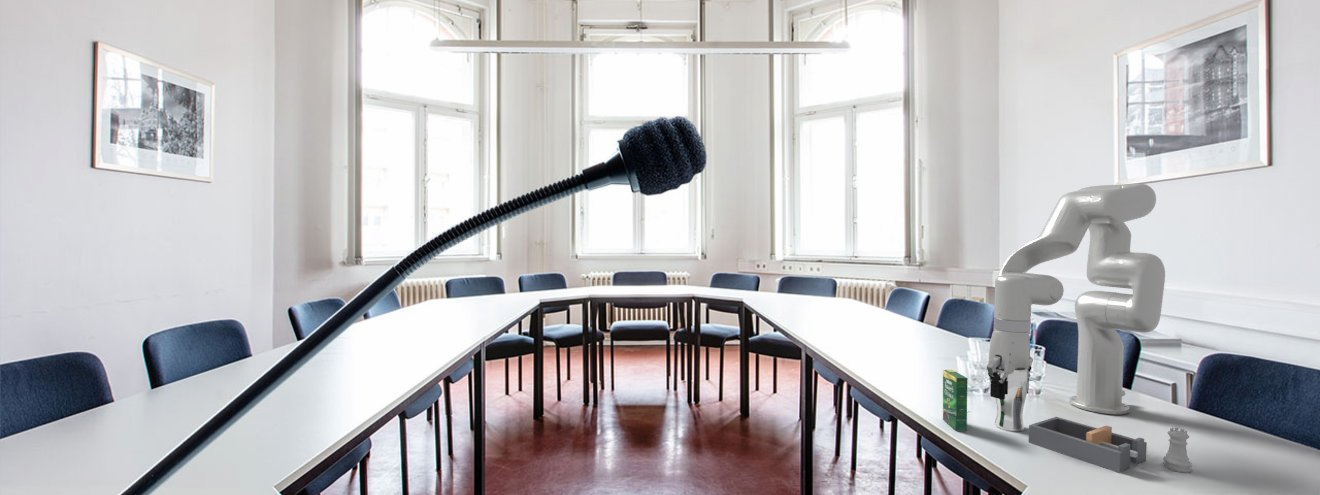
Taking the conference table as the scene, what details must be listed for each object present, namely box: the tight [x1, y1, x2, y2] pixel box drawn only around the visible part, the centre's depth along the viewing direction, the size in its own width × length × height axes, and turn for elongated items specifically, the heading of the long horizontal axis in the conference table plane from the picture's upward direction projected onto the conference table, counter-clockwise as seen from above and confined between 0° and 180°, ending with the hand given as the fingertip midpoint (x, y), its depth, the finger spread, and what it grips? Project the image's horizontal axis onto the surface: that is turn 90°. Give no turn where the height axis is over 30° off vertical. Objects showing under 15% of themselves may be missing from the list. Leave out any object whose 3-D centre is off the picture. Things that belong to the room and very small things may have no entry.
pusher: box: [1086, 425, 1138, 458], centre depth 113 cm, size 8×7×5 cm
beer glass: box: [994, 368, 1028, 432], centre depth 132 cm, size 7×7×15 cm
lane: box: [1028, 416, 1148, 474], centre depth 118 cm, size 11×17×5 cm
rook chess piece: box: [1161, 427, 1193, 474], centre depth 109 cm, size 4×4×8 cm
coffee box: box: [942, 369, 968, 432], centre depth 133 cm, size 8×3×13 cm, turn 174°
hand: (1009, 395), depth 131 cm, fingers open, 9 cm apart
